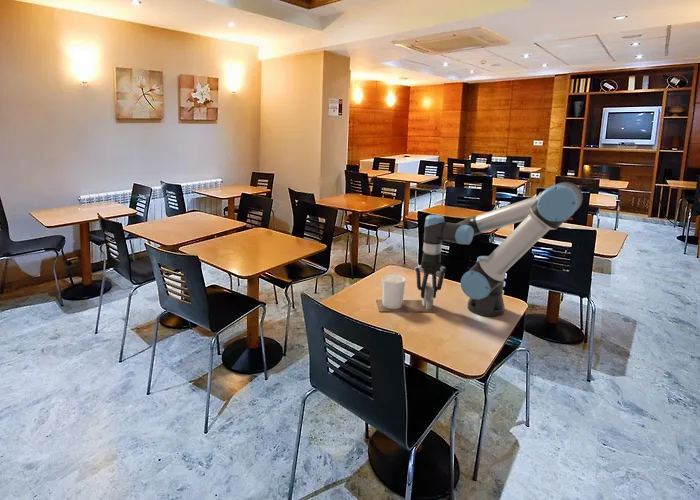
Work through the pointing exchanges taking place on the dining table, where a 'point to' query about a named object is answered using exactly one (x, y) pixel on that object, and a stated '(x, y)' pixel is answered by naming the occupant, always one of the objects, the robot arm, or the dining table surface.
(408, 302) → the board
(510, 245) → the robot arm
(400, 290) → the candle holder
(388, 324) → the dining table surface
